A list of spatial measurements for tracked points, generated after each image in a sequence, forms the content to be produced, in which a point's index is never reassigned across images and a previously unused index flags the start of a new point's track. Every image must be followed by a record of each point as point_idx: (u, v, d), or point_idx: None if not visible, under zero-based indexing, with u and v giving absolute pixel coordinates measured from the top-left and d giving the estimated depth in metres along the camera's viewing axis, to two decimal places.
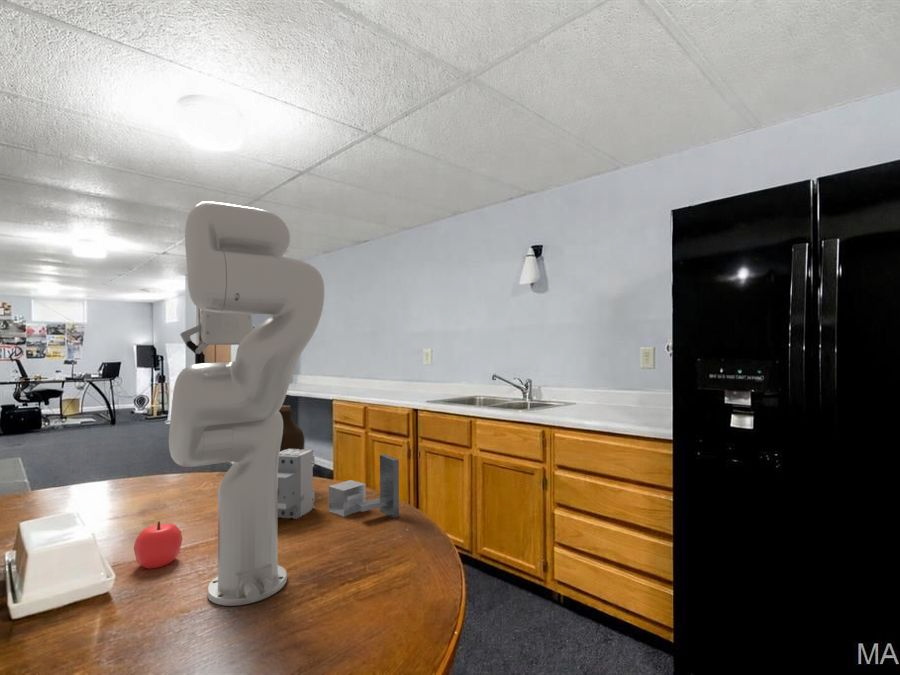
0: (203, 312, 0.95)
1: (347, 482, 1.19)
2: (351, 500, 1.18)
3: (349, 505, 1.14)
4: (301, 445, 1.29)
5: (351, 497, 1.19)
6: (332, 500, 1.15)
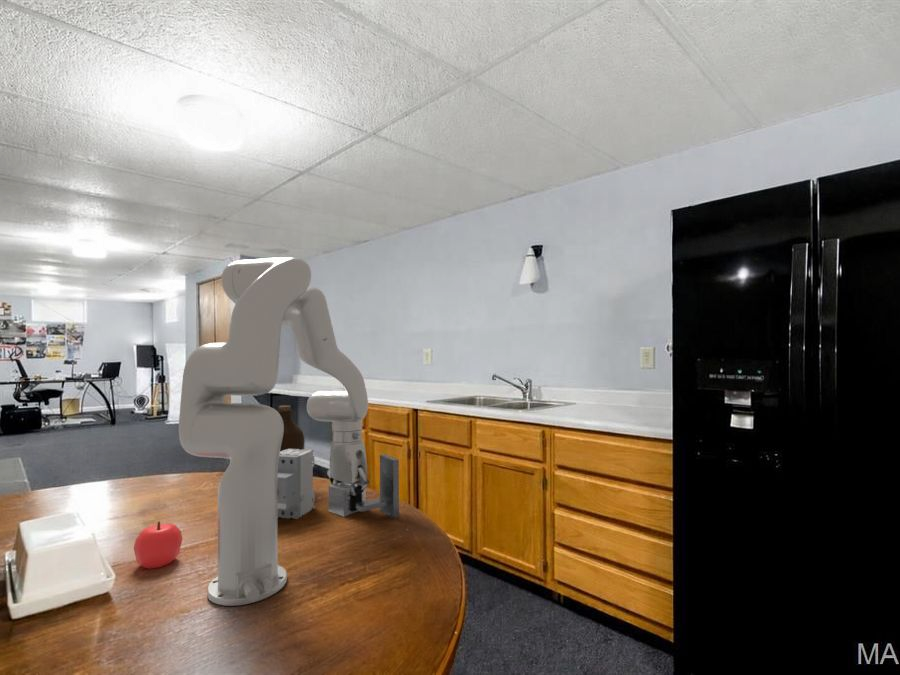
0: (364, 455, 1.15)
1: None
2: None
3: (349, 505, 1.14)
4: (301, 445, 1.29)
5: None
6: (332, 500, 1.15)
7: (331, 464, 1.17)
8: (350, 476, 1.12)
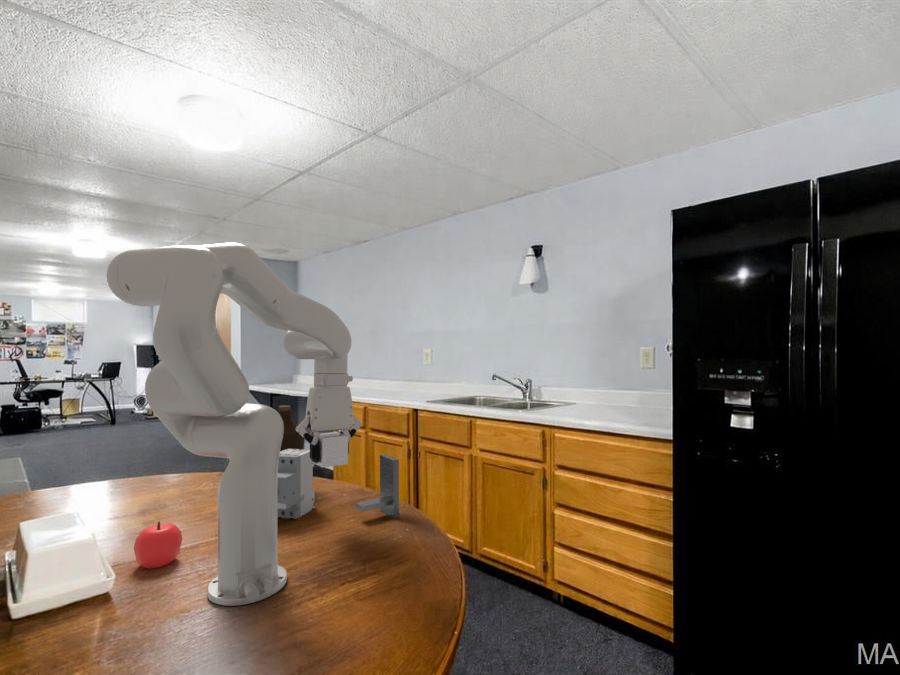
0: None
1: None
2: None
3: None
4: (301, 445, 1.29)
5: None
6: (329, 452, 1.01)
7: (318, 414, 1.01)
8: (349, 420, 1.06)
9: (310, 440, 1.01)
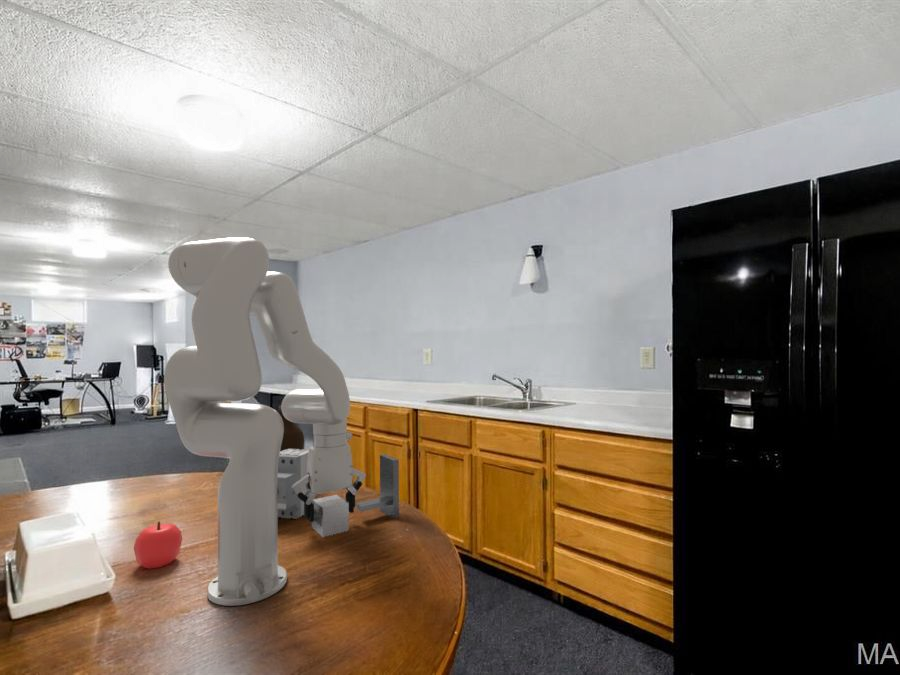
0: None
1: (320, 500, 1.04)
2: None
3: None
4: (301, 445, 1.29)
5: None
6: (329, 521, 1.01)
7: (318, 477, 1.01)
8: (350, 479, 1.05)
9: (305, 499, 1.00)
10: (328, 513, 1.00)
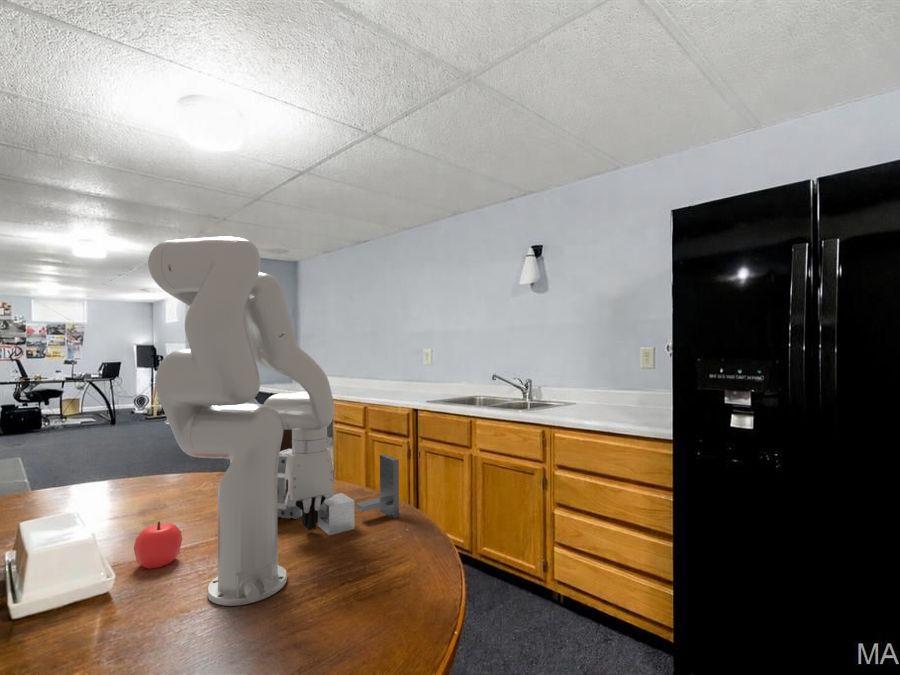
0: None
1: None
2: None
3: None
4: None
5: None
6: (335, 519, 1.01)
7: (297, 483, 0.98)
8: (330, 485, 1.03)
9: (302, 510, 1.00)
10: (334, 511, 1.01)
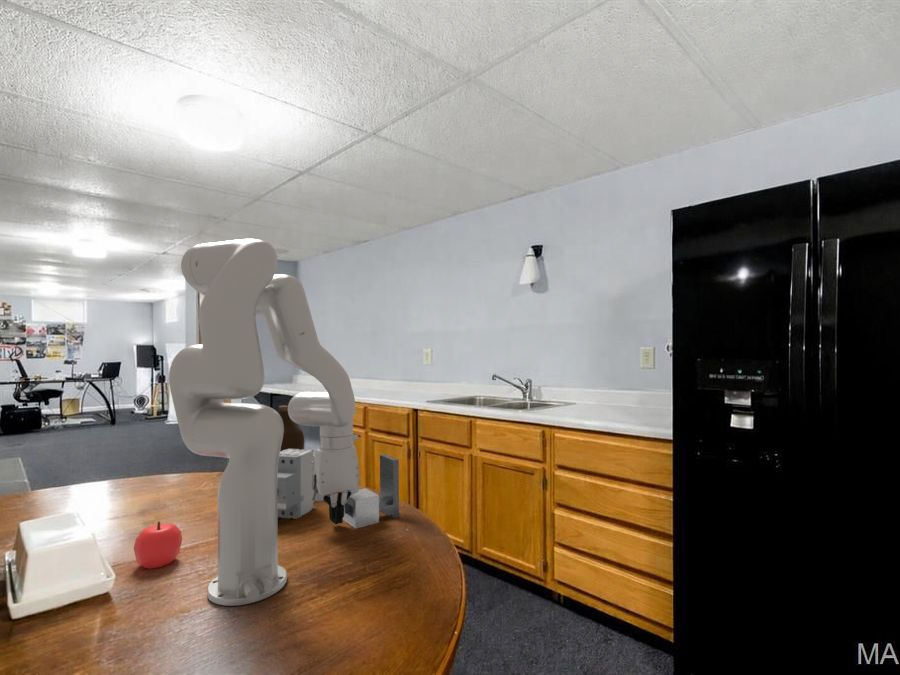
0: None
1: None
2: None
3: None
4: (301, 445, 1.29)
5: (352, 508, 1.10)
6: (361, 513, 1.05)
7: (325, 478, 1.02)
8: (356, 480, 1.06)
9: (329, 504, 1.03)
10: (360, 505, 1.05)
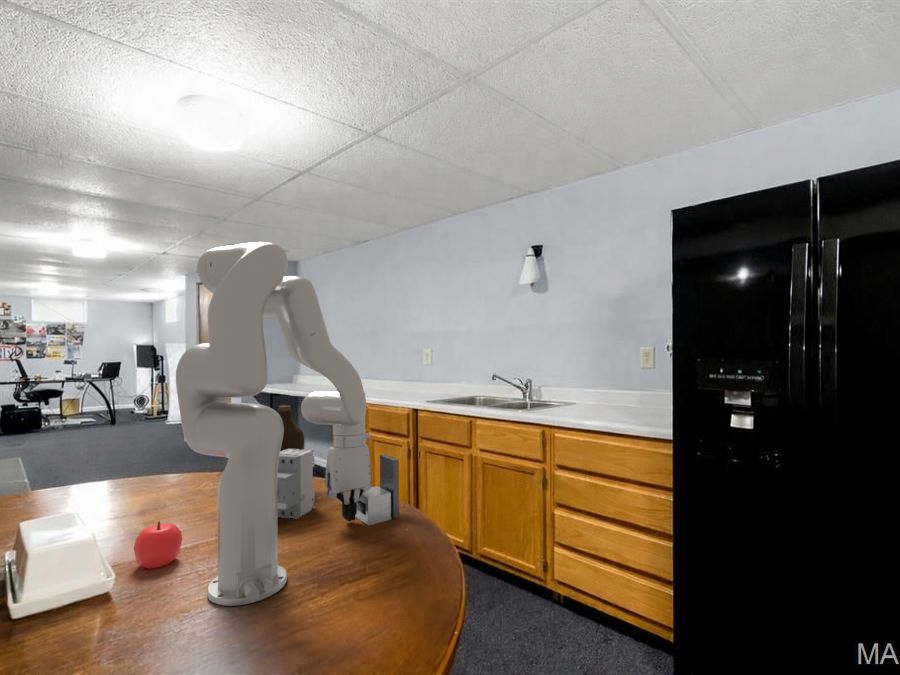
0: None
1: None
2: None
3: None
4: (301, 445, 1.29)
5: None
6: (374, 510, 1.07)
7: (338, 476, 1.03)
8: (368, 478, 1.08)
9: (342, 502, 1.05)
10: (372, 502, 1.07)
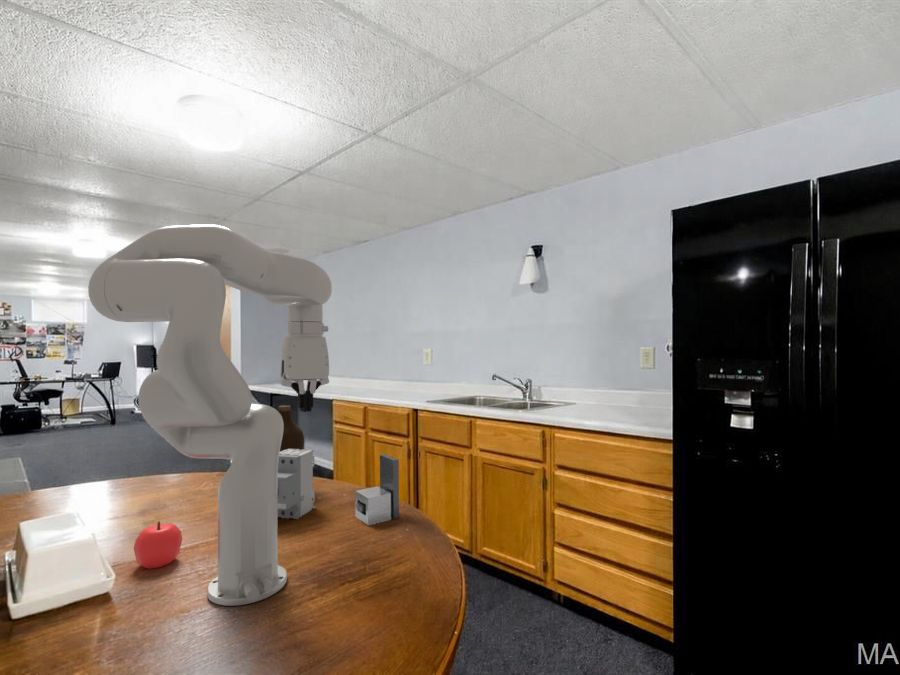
0: None
1: (363, 491, 1.11)
2: None
3: None
4: (301, 445, 1.29)
5: None
6: (374, 511, 1.07)
7: (292, 363, 1.00)
8: (325, 370, 1.04)
9: (297, 391, 1.02)
10: (372, 503, 1.07)
